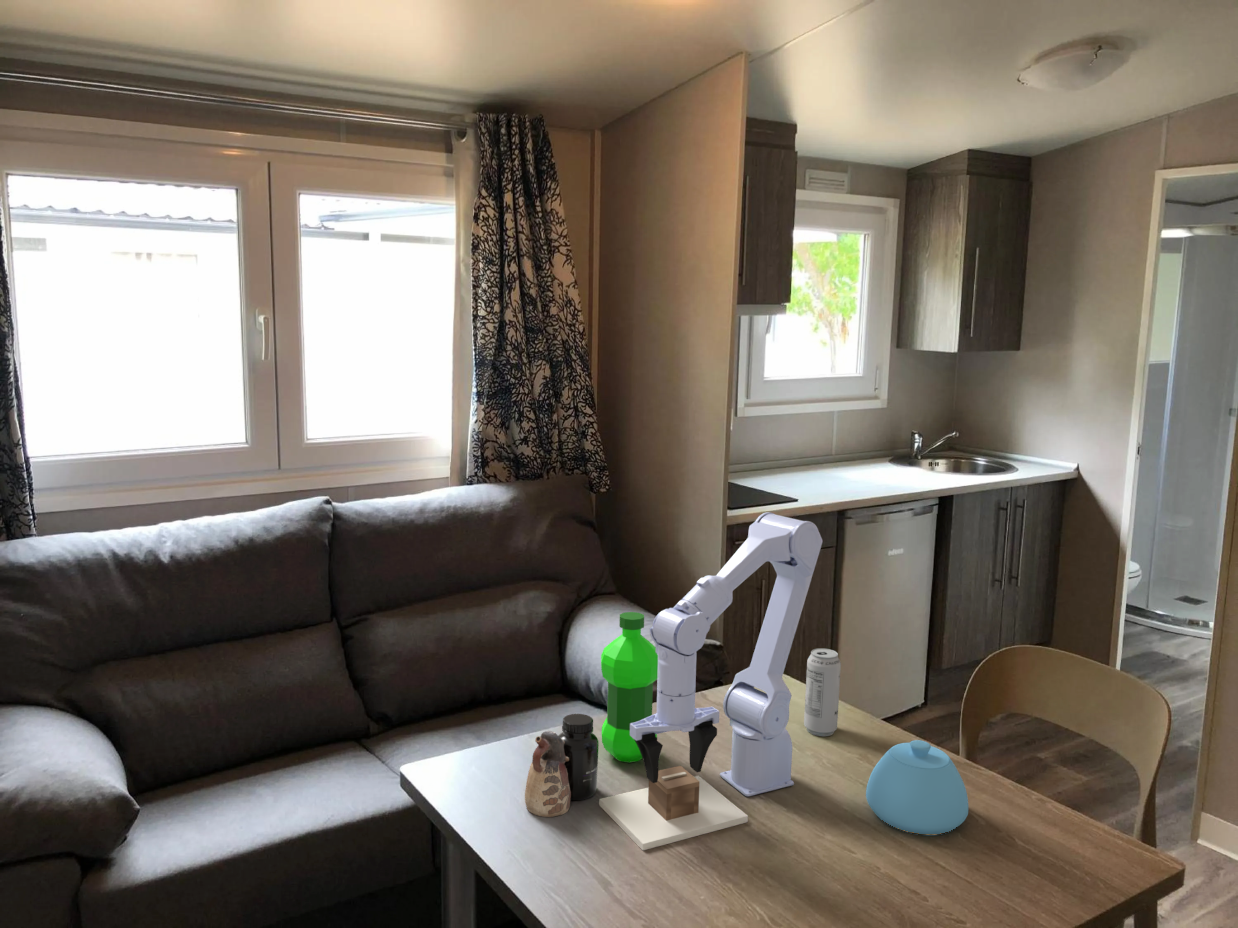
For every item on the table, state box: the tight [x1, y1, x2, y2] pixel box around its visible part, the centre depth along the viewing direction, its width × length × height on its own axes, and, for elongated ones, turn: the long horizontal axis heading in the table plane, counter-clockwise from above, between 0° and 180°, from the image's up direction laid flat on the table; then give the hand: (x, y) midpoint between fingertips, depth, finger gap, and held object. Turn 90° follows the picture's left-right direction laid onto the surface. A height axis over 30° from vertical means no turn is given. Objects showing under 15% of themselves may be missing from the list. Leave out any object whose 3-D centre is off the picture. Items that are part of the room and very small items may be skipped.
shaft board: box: [598, 775, 749, 851], centre depth 142 cm, size 18×14×4 cm
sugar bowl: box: [865, 739, 970, 834], centre depth 143 cm, size 15×15×12 cm
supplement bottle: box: [558, 713, 600, 801], centre depth 148 cm, size 7×7×12 cm
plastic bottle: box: [600, 611, 658, 763], centre depth 160 cm, size 10×10×25 cm
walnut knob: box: [647, 765, 700, 821], centre depth 142 cm, size 6×6×5 cm
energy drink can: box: [803, 648, 842, 737], centre depth 172 cm, size 6×6×15 cm
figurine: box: [524, 730, 572, 818], centre depth 143 cm, size 7×7×12 cm
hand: (673, 774), depth 142 cm, fingers open, 7 cm apart
